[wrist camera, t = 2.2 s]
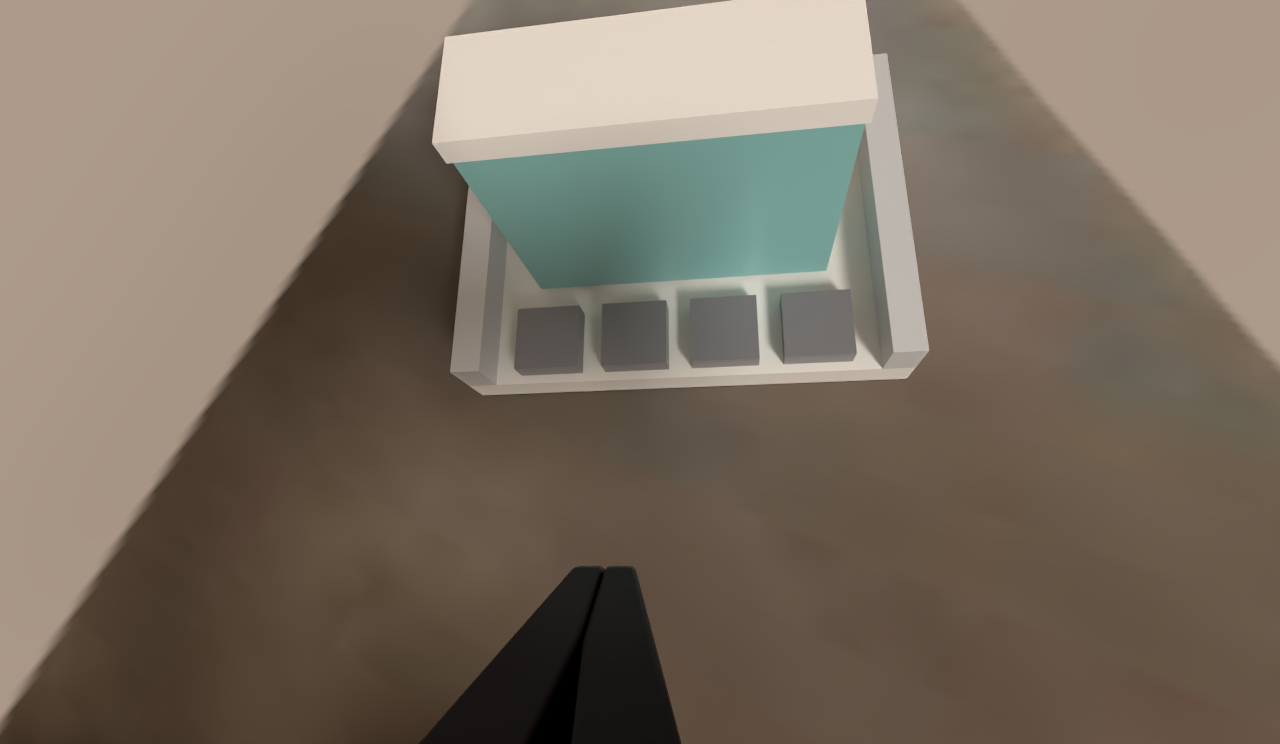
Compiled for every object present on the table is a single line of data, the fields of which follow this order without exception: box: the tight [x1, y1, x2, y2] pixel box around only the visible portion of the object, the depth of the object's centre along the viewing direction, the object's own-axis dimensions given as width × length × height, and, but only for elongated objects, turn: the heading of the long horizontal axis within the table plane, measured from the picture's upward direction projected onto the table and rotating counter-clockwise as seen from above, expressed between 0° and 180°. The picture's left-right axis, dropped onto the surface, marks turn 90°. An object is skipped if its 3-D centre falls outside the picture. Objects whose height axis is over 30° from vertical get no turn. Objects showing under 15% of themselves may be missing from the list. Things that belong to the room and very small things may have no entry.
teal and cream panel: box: [432, 0, 878, 289], centre depth 19 cm, size 3×10×8 cm, turn 90°
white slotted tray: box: [450, 53, 929, 395], centre depth 23 cm, size 11×15×3 cm
